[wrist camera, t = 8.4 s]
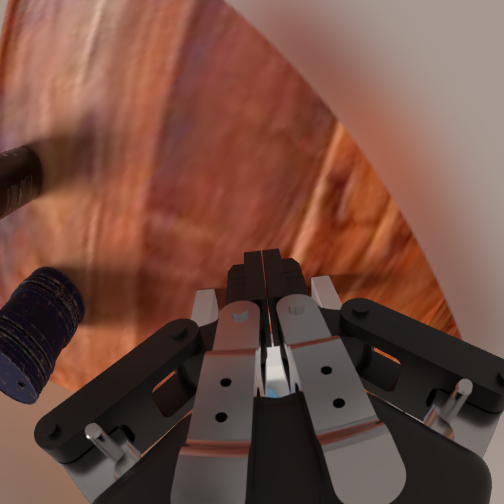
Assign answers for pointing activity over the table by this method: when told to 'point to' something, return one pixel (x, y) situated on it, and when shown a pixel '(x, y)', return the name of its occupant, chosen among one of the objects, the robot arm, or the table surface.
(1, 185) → the supplement bottle
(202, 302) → the bridge
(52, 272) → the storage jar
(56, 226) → the table surface
